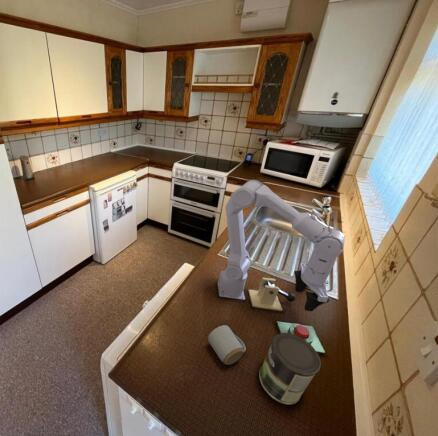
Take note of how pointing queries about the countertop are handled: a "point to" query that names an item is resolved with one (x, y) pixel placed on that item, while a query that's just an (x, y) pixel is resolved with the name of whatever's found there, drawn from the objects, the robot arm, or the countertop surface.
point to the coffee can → (288, 368)
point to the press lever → (288, 296)
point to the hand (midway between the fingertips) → (303, 300)
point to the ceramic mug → (226, 344)
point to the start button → (301, 331)
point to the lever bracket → (266, 296)
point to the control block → (311, 338)
